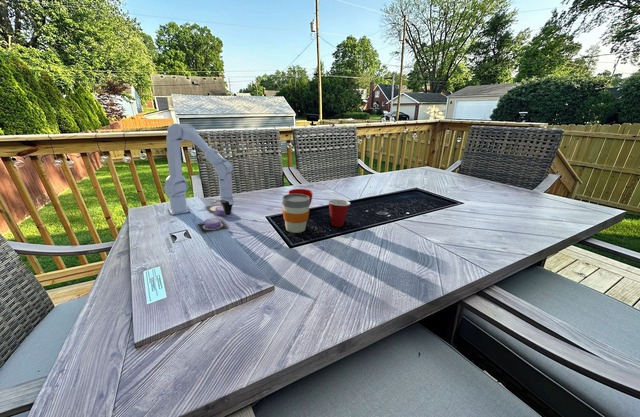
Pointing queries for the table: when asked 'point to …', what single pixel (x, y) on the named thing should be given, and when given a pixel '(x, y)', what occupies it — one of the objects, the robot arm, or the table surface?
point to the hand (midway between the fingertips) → (227, 214)
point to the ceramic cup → (302, 192)
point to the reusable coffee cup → (295, 212)
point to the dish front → (212, 223)
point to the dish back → (220, 210)
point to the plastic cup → (338, 211)
